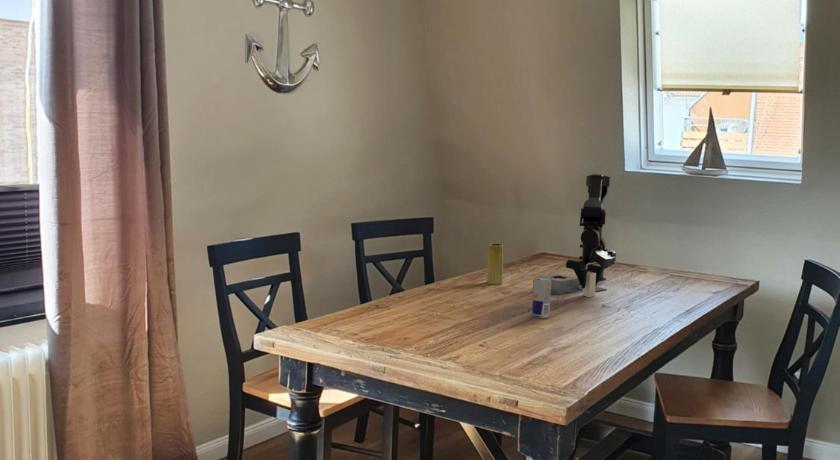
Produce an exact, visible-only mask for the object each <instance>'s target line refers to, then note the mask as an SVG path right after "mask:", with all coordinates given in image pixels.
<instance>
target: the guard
mask: <svg viewBox="0 0 840 460" xmlns="http://www.w3.org/2000/svg"><path fill="white" fill-rule="evenodd" d="M539 277H547V278H550V280H551V293H553V294H556V295H563V294H569V293H574V292H579V291H580V290H579V287H580V282H579V280H578V278H577V276H576V277H575V276H571V275H566V274H562V273H553V274H547V275H542V276H539ZM556 278H560V279H556Z"/></svg>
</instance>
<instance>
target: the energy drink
mask: <svg viewBox="0 0 840 460" xmlns="http://www.w3.org/2000/svg"><path fill="white" fill-rule="evenodd" d="M532 283H533V284H532V285H533V286H532V302H531V303H532V309H531V311H532V312H531V315H532V317H533V318H535V319H540V320H541V319H549V317H550V315H551V314H550V311H551V293H552V292H551V280H550V278H547V277H540V276H536V277H534V278H533V281H532Z"/></svg>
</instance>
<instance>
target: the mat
mask: <svg viewBox="0 0 840 460" xmlns="http://www.w3.org/2000/svg"><path fill="white" fill-rule="evenodd" d="M607 290H608V289H607V288H603V287H599V286H595V293H600V292H604V291H607ZM579 291H581V292H583V288H582V287H581V286H579Z"/></svg>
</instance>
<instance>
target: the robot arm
mask: <svg viewBox="0 0 840 460" xmlns="http://www.w3.org/2000/svg"><path fill="white" fill-rule="evenodd" d="M585 187H586V188H587V194H588V199H587V200H586V201H584V203H583V208H582V207H581V210H580V216H579V217H580V218H579V226H580V227H582V228H583V229H582V230H583V231H582V233H581V235H580V241H581V244H579V248H580V249H582V250H581V251H582V253H581V255H580V256H579V257H578V258H572V259H571V258H570V259H567V260H566V261H565V268H566V269H570V270H573V272H574V273H575V275H576V278H578V280H579V286H580V287H582V288H585V285H586V276H587V273H588V272H593V273H596V286H595V287H598V286H597V285H598V283H599V281H606V280H607V277H604V273H605V272H604V270H606V269H608V268H609V267H611V266H614V265H615V262H616V260H617V259H616V258H617V253H616V251H614V250H609V251H608V248H606V247H607V246H606V244H607V243H606V241H605V239H604V238H603V228H604V225H605V224H606V219H607V218H606V216H607V213H606V210H605V208H604V199H605V197H606V196H607V194H608V192H609V189H610V188H611V177H610V176H609V175H608V174H601V173H592V174H589V175H586V178H585Z"/></svg>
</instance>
